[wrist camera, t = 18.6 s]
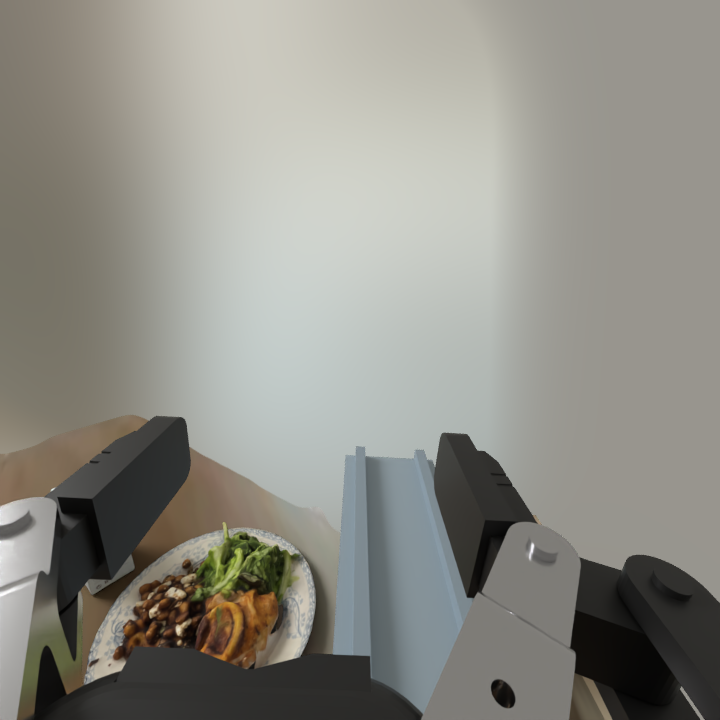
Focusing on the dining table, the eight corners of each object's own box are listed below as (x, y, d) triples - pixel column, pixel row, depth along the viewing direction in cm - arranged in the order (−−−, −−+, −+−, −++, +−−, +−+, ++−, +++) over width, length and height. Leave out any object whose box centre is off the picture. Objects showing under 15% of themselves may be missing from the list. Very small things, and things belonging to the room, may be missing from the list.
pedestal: (424, 988, 24) (528, 709, 13) (312, 986, 24) (329, 702, 13) (397, 680, 41) (433, 450, 30) (332, 677, 41) (346, 445, 30)
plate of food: (283, 515, 65) (281, 490, 63) (350, 665, 42) (351, 633, 40) (105, 581, 51) (96, 551, 49) (65, 851, 29) (45, 817, 27)
